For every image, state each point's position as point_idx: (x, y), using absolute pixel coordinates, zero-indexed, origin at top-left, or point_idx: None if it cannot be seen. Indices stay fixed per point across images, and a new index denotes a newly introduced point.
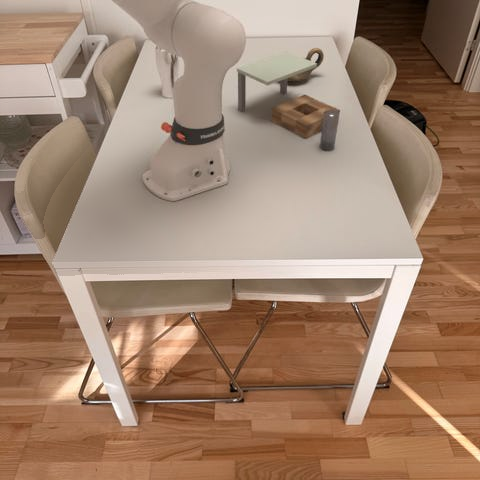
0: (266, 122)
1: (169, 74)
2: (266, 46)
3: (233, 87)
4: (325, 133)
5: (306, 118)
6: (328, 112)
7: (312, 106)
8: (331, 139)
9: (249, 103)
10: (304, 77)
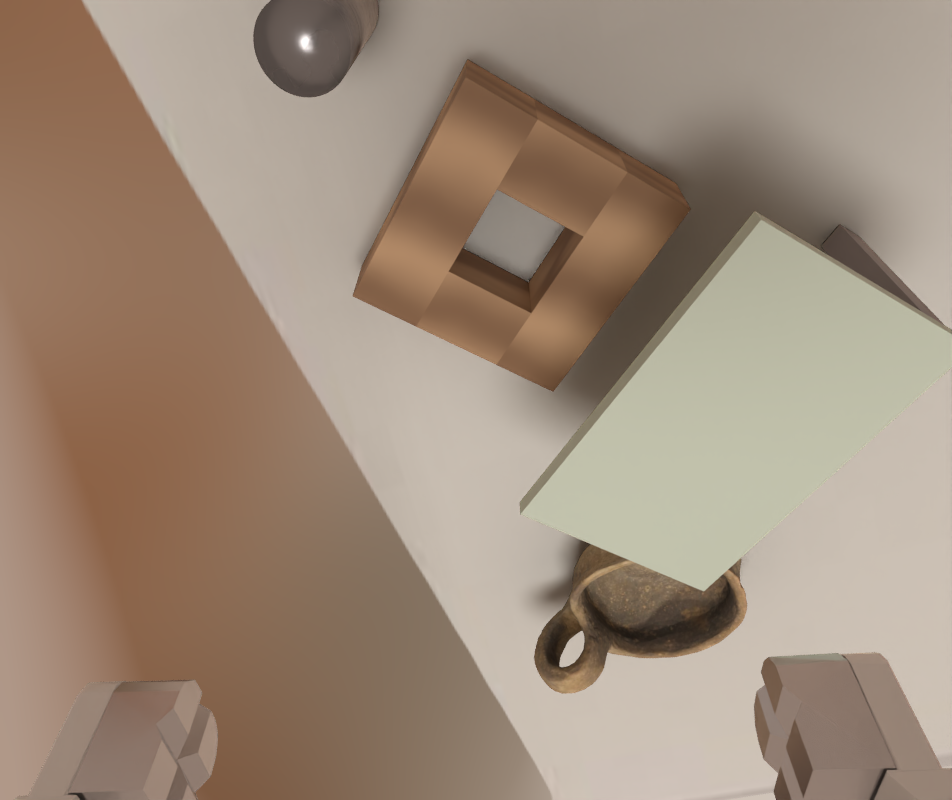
0: (696, 159)
1: None
2: None
3: (899, 430)
4: None
5: (487, 157)
6: (323, 51)
7: (489, 291)
8: None
9: None
10: (590, 546)
